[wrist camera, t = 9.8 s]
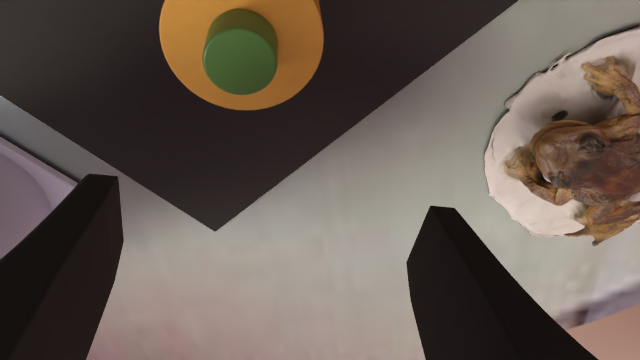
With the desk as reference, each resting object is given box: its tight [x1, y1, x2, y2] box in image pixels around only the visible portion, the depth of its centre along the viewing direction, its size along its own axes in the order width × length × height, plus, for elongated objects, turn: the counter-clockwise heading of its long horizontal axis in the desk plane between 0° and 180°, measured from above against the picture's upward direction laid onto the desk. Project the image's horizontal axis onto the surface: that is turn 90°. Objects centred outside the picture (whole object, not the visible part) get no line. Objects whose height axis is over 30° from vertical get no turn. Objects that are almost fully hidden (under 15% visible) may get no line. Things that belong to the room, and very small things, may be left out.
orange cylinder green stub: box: [159, 0, 324, 110], centre depth 15 cm, size 4×4×6 cm
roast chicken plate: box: [484, 27, 640, 246], centre depth 22 cm, size 12×12×4 cm
